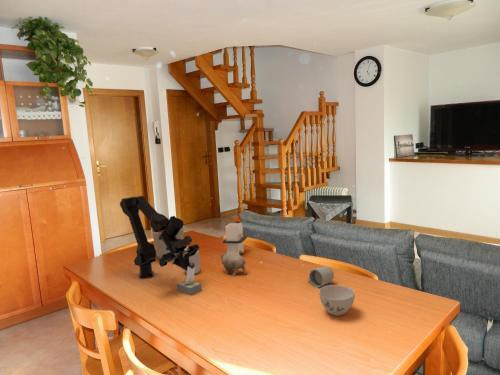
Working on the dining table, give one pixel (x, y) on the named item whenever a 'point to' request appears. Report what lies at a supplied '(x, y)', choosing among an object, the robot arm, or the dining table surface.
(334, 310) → the teacup
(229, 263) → the rhinoceros figurine
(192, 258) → the can
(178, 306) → the dining table surface
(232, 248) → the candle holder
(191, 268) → the toggle lever
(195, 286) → the switch box
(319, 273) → the ceramic mug
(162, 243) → the canister
